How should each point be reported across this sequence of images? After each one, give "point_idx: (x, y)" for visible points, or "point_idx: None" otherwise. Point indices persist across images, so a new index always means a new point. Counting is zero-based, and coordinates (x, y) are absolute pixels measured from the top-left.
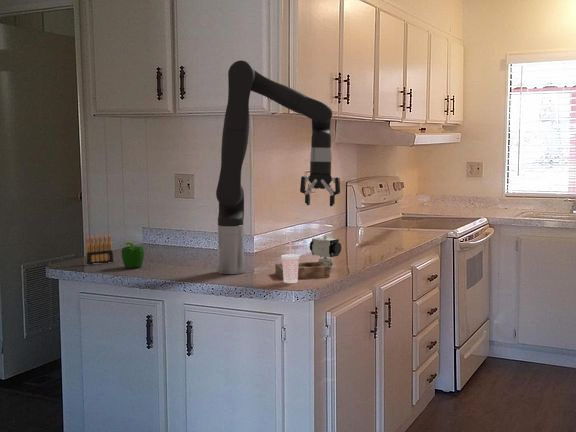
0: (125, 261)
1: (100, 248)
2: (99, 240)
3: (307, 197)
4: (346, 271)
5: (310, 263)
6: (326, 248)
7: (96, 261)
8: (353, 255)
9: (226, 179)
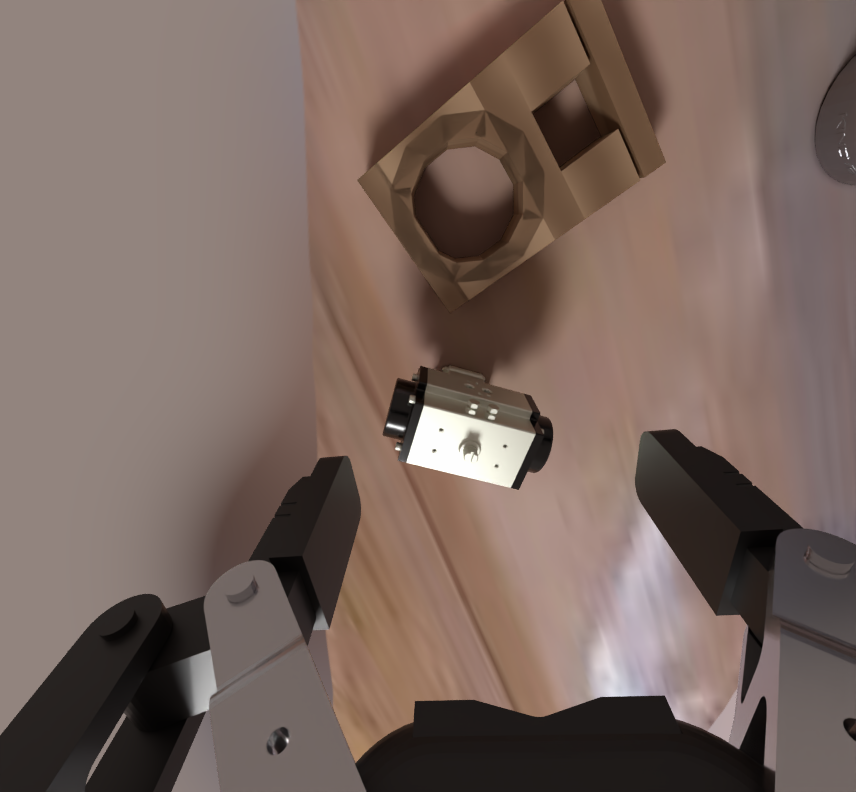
0: None
1: None
2: None
3: (730, 494)
4: (351, 339)
5: (487, 256)
6: (443, 382)
7: None
8: (448, 613)
9: None
